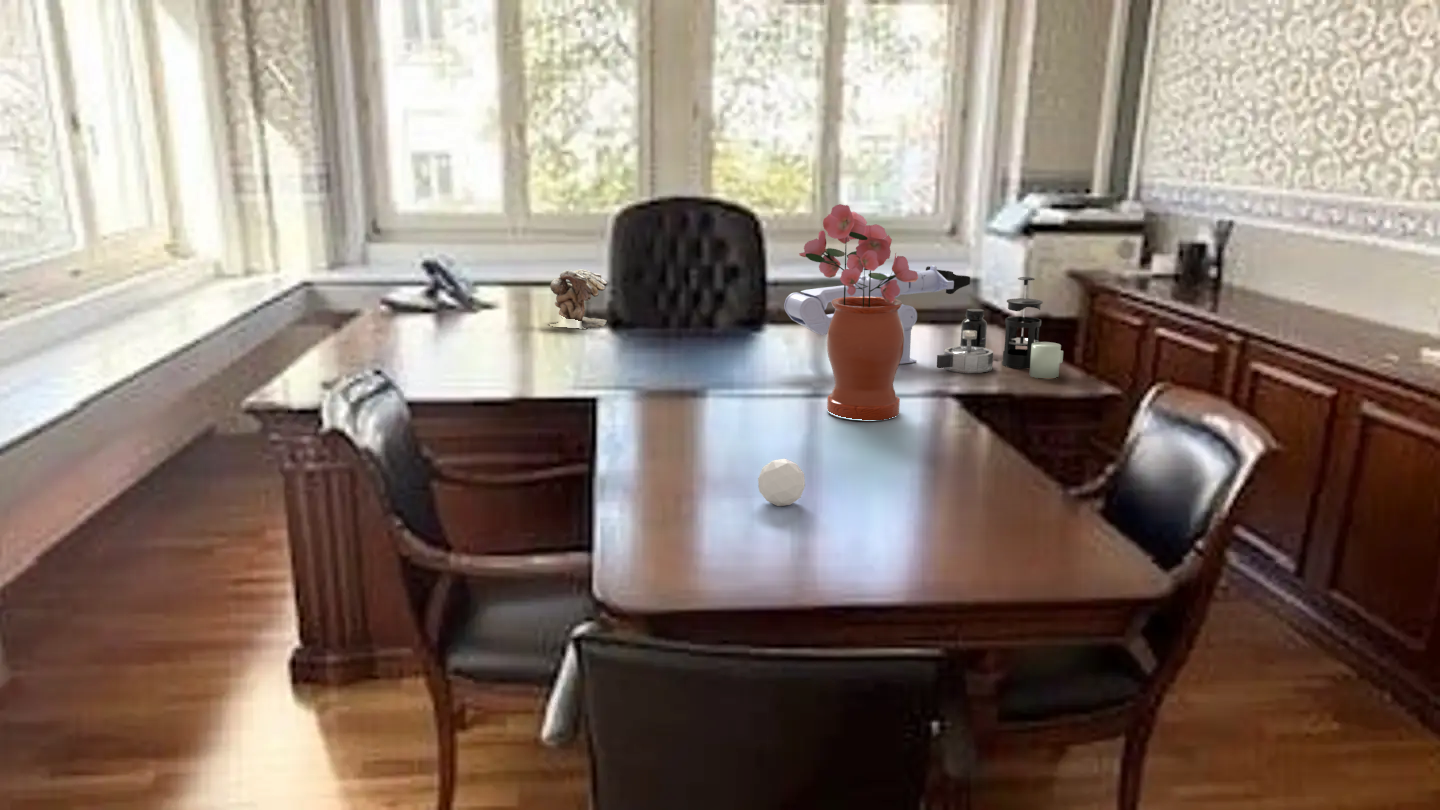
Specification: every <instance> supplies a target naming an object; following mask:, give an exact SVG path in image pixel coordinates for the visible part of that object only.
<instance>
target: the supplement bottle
mask: <svg viewBox="0 0 1440 810" xmlns="http://www.w3.org/2000/svg"><path fill="white" fill-rule="evenodd" d="M965 311H966V312H965V317H966V318H964V319H963V320H962V322H961V329H960V330H961V331H960V342H959V343H960V344H959V346H967V339H963V338H962V336H963V331H964V330H974V331H977V336H976V339H973V340H971V346H974V347H983V348H987V330H988V323H987V321H986V320H985V319H984V317H985V310H984V309H981V308H967V309H966V310H965Z"/></svg>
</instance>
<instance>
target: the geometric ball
mask: <svg viewBox="0 0 1440 810" xmlns="http://www.w3.org/2000/svg"><path fill="white" fill-rule="evenodd" d="M757 479H758V480H757V482H758V492H759V493H760V494H761V496H763V499H765V501H767V502H768V503H770V504H773V505H774V506H777V507H783V506H791V505H792V504H793V503H795V502H797V501H798V500H799V499H801V498H802V495H803V492H804V490H805V487H806V481H805V473H804V471H802V469H801V468H800V466H799V464H797V463H796V462H793V461H791V460H789V459H787V458H781V459H773V460H772V461H770V462H769V463H767V464H766V465H764V466H763V467H762V469H761V470H760V473H759V475H758V478H757Z"/></svg>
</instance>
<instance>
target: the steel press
mask: <svg viewBox="0 0 1440 810" xmlns="http://www.w3.org/2000/svg"><path fill="white" fill-rule="evenodd" d="M958 348H967V346H960V345H955V346H949V347H946V348H944V352H943V354H937V355H936V368H937V369H945V370H946V371H948V372H952V371H953V373H958V372H959V373H960V374H969V373H976V374H983V373H982V372H986V373H989V372H991V371H992V369H993V363H994V351H993V350H992V349H990V348H987V347H986V348H983V347H974V346H971V348H973V349H980V350H984V351H986V354H981V355H963V354H956V353H952V352H951V350H953V349H958ZM990 370H991V371H990ZM988 371H989V372H988ZM959 373H958V374H959Z"/></svg>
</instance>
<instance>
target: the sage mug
mask: <svg viewBox="0 0 1440 810" xmlns="http://www.w3.org/2000/svg"><path fill="white" fill-rule="evenodd" d="M1061 349H1062V345H1061V344H1060V343H1056V342H1052V341H1051V342H1050V341H1039V342H1034V343H1032V345H1031V359H1030V369H1029V374H1028V375H1030V376H1029V377H1030V378H1033V377H1035V378H1034V379H1038V378H1056V377H1058V378H1059V376H1060V375H1059V373H1060V364H1063V361H1064V360H1063V359H1064V350H1061ZM1056 379H1057V378H1056Z"/></svg>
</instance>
